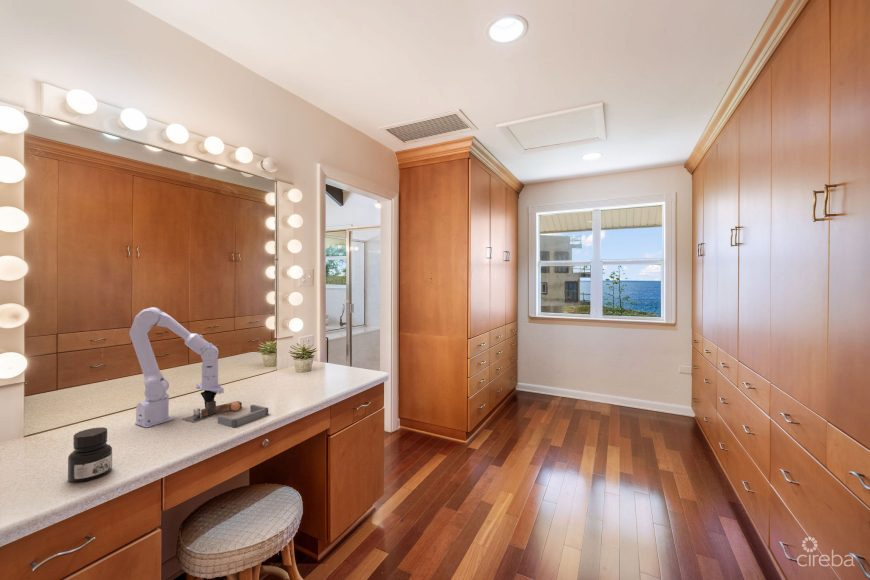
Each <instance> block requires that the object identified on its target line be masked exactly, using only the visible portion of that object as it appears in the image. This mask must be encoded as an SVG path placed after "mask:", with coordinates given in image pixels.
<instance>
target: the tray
mask: <svg viewBox="0 0 870 580" xmlns="http://www.w3.org/2000/svg"><path fill="white" fill-rule="evenodd" d="M266 416H269V408H268V407H265V406H260V405H256V404H251V405H250V413H248V414H247V413H246V414H245V415H241V416H238V417H236V418H233V417H230V416H225V415H222V414H221V415H217V424H219V425H222V426H225V427H226V426H227V427H229V428H233V429H234V428H236V427H240V426H242V425H245V424H248V423H251V422H252V421H256V420H259V419H261V418H263V417H266Z"/></svg>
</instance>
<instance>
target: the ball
mask: <svg viewBox="0 0 870 580" xmlns="http://www.w3.org/2000/svg"><path fill="white" fill-rule="evenodd" d="M233 402H234V403H233V404H232V405H231V409H230V410H231V411H233V412H236V411H238V410H239V409H241V408H240V404H239V403H238V402H236V401H233Z"/></svg>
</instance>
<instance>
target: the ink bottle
mask: <svg viewBox="0 0 870 580" xmlns="http://www.w3.org/2000/svg"><path fill="white" fill-rule="evenodd" d="M72 440H73V441H72V442H73V445H72V446H73V451H72V452H70V454H69V455H68V457H67V479H68V481H69V482H72V483H84V482H90V481H92V480H96V479H98V478H101V477H103V476H105V475H107V474H108V473H110V472H111V471H112V469H113V447H112V446H111V444H108V443H107V442H108V429H107V427H100V426H99V427H92V428H88V429H87V428H86V429H84V430H80V431H78V432H76V433H74V434H73V439H72Z"/></svg>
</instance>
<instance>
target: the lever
mask: <svg viewBox="0 0 870 580" xmlns="http://www.w3.org/2000/svg"><path fill="white" fill-rule="evenodd" d="M234 402H238V403H239V404H240V408H239V409H242V408H243V406H242V405H243V403H242V402H241V401H239V400H235V401H231V402H227V403H224V404H220V405H219V404H218V405H217V401H216V400H215V399H214V400H212V401H208V402H206V408H205V407H204V408H202V409H201V408H200V413H201V415H202V416H205V415H209V416H211V415H213V414H217V413H221V412H225V411H229V410H231V405H232V404H233V403H234Z"/></svg>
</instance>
